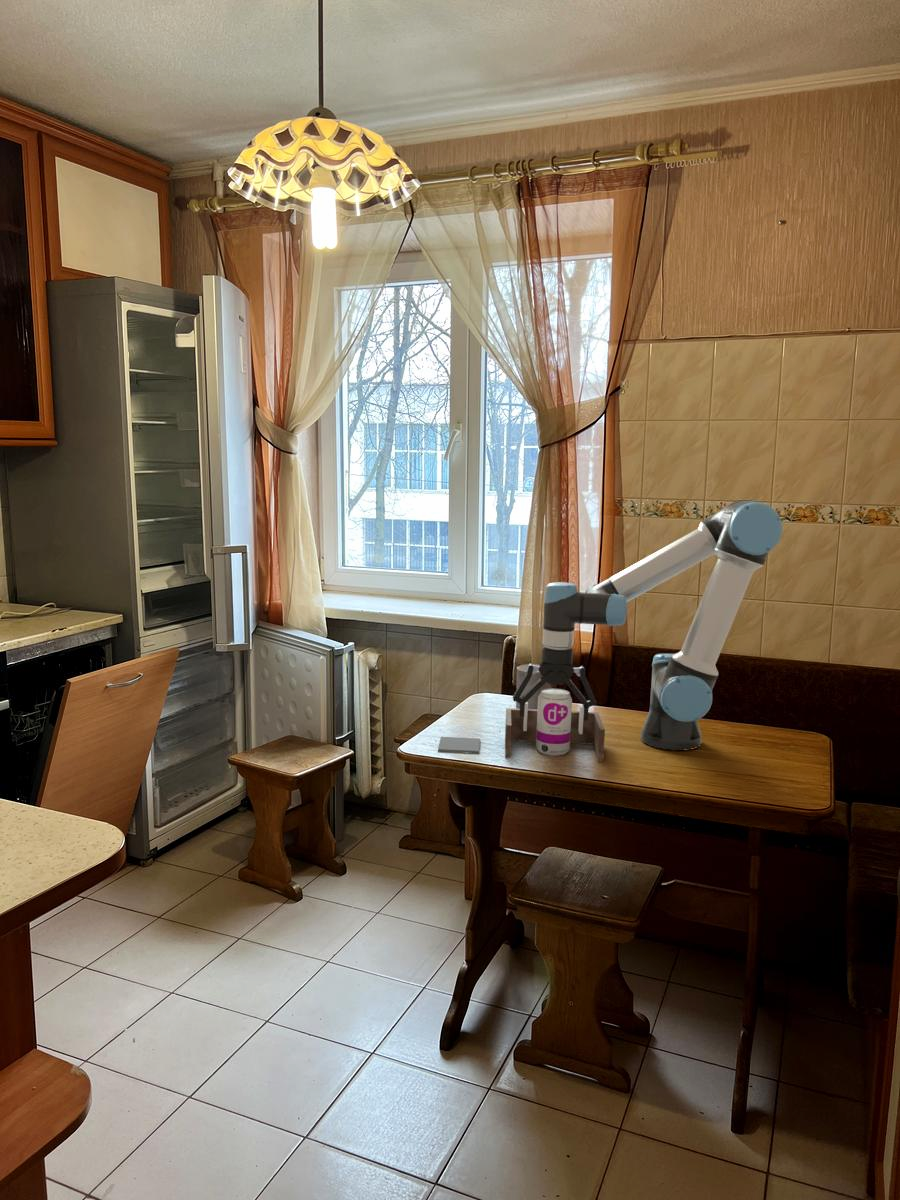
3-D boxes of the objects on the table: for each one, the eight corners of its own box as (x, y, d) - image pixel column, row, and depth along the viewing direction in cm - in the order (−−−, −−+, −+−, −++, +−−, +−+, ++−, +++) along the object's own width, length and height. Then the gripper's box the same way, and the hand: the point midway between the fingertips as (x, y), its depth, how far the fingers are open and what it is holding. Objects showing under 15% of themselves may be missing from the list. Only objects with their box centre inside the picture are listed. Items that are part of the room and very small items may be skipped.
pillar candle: (546, 710, 257) (548, 659, 255) (552, 720, 247) (554, 667, 245) (513, 710, 256) (514, 659, 254) (517, 720, 247) (519, 667, 244)
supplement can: (568, 757, 216) (572, 697, 214) (534, 755, 218) (537, 695, 215) (569, 747, 224) (572, 689, 222) (536, 744, 226) (539, 686, 223)
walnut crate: (596, 742, 229) (598, 712, 228) (603, 762, 214) (605, 729, 213) (504, 738, 230) (506, 708, 229) (505, 757, 215) (506, 725, 214)
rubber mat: (480, 740, 227) (480, 738, 227) (479, 753, 218) (479, 751, 217) (440, 738, 228) (440, 736, 228) (438, 751, 218) (438, 749, 218)
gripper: (607, 645, 220) (602, 729, 223) (506, 640, 221) (501, 723, 225) (611, 652, 213) (605, 738, 216) (506, 646, 214) (501, 732, 217)
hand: (552, 731), depth 220 cm, fingers open, 13 cm apart
